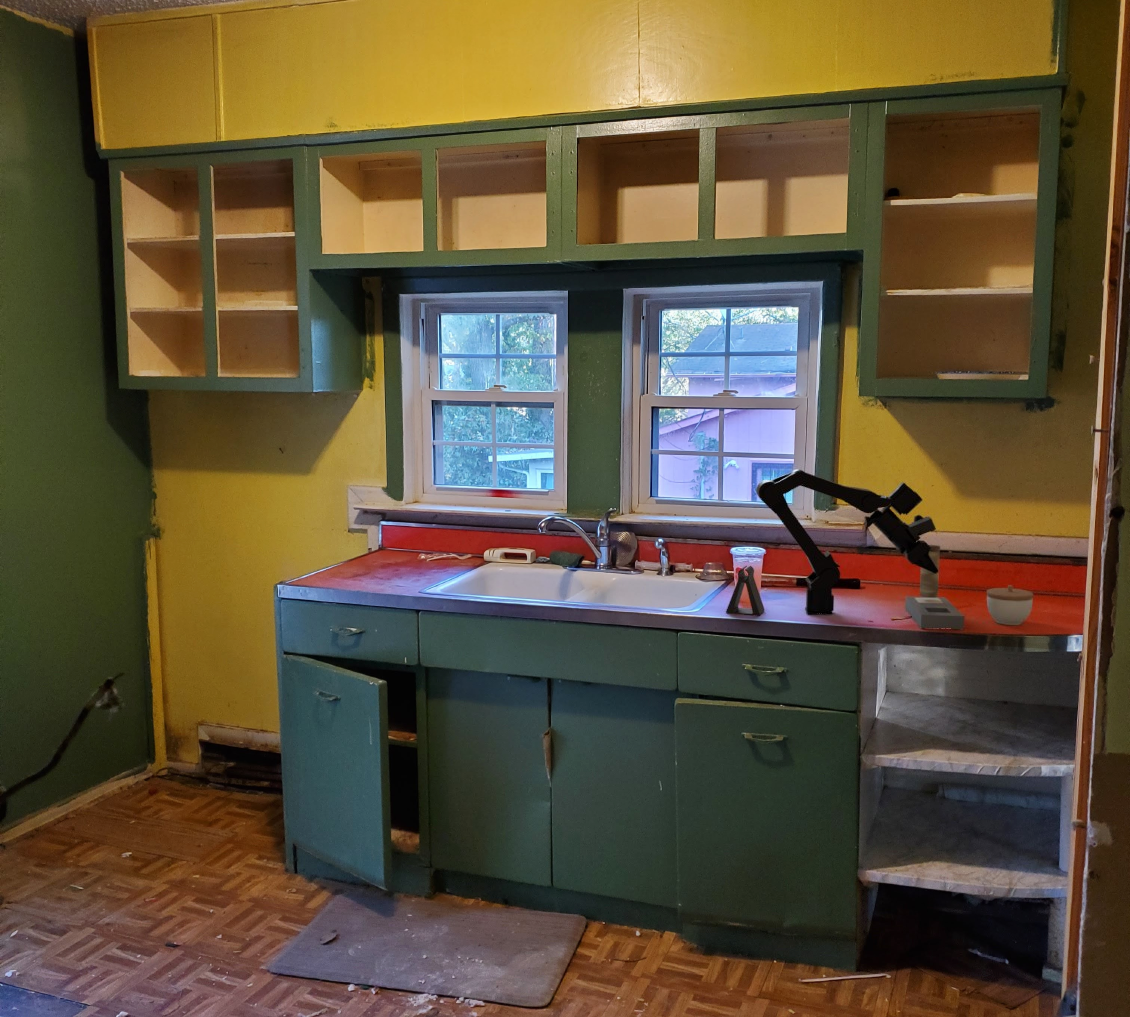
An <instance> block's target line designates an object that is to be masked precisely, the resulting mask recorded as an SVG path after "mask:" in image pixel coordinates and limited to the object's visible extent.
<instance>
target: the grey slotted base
mask: <svg viewBox="0 0 1130 1017" xmlns="http://www.w3.org/2000/svg"><path fill="white" fill-rule="evenodd" d="M904 609H906V610H905V611H906V613H907V612H908V613H909V614H910V615H911V616H912V617H911V616H910V615H909V614H908V613H907V614H908V615H909V616H910V617H911V618H913V619H914V620H915V621H914V620H913V619H912V620H913V621H914V622H915V623H917V624H918V625H919V626H918V625H917V624H916V625H917V626H918V627H919V629H920V628H932V629H931V630H934V629H933V628H939V629H941V628H945V629H946V628H951V629H964V626H965V615H964V614H963V613H961V612H960V611H959V609H958V608H956V607H955V606H954V605H953V604H952V603H951V602H950V601H949V600H948V599H947V598H946V597H943V596H942V597H940V596H939V597H922V596H905V605H904ZM939 629H938V630H939ZM964 630H965V629H964Z"/></svg>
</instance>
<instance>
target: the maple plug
mask: <svg viewBox="0 0 1130 1017" xmlns="http://www.w3.org/2000/svg"><path fill="white" fill-rule="evenodd" d="M928 545H929V546H930V547H931V549H930V550H929V556H930V558H931V560H932V561H933V563H934V564H935V566H936V567H937V569H938V572H937V573H936V574H935V573H933V572H930V571H928V570H926V569H924V568H921V567H920V579H919V580H920V582H919V584H920V585H919V597H938V595H939V575H940V552H941V546H940V545H938V544H937V545H936V544H928Z"/></svg>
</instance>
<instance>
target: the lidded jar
mask: <svg viewBox="0 0 1130 1017" xmlns="http://www.w3.org/2000/svg"><path fill="white" fill-rule="evenodd" d="M1033 599H1034V593H1033V592H1032V591H1030V590H1025V589H1019V588H1014V587H1013V585H1012V584H1010V585H1009V584H1008V585H1007V587H994V588H989V589H987V590H986V603H987V604H986V606H987V610H988V613H989V614H990V616H991V617H992V618H993V620H994V621H995V623H997V624H1000V625H1004V626H1005V625H1006V626H1020V625H1022V623H1023V622H1024V621H1026V620H1027V619H1028V618H1029V616H1030V614H1031V611H1032V607H1033Z"/></svg>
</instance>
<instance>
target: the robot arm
mask: <svg viewBox="0 0 1130 1017" xmlns="http://www.w3.org/2000/svg"><path fill="white" fill-rule="evenodd" d="M798 487H803V488H806V489H810V490H812V491H815V492H818V493H821V494H824V495H827V496H830V497H831V498H832V497H833V498H835V499H837V500H841V501H842V502H845V503H846V504H847V505H850V506H852V507H854V508H856V509H857V510H859V511H860V512H862V513H864V514H870V515H869V516H867V515H865V516H864V517H863V518H864V524H863V525H864V527H866V528H870V527H871V526H872V525H874V526H875V527H876V528H877V529H878V530H879V531H880V532H881V533H882V534H883V535H884V537H886V539H887V540H888V541H890V542H891V544H892V545H894V547H895V549H896V550H897V551H898V553H900V554H901V555H903V557H904V558H905V559H906V560H907V561H909V563H910V564H911V565H915V566H917V567H918V568H919V567H920V569H921V568H924V569H926V570H928V571H930V572H933V573H935V574H936V573H937V572H938V569H937V567H936V566H935V564H934V563H933V561H932V560H931V558H930V556H929V550H930V549H931V547H930V546H929V545H930V544H928V543H927V542H926V541H925V540H924V539H923V540H921V536H922V535H925V534H927V533H929V532H934V531H936V530H937V528H936V526H935V523H934V522H933V521H934V520H933V519H932V517H930V516H922V515H921V514H918V515H915V516H914V517H913V521H912V522H911V523H909V524H908V523H906V522H905V521H903V520H901V518H900V517H899V516H902V515H905V516H908V514H910V513H911V512H912V511H913V510H914V509H915V508H916V507H918V505H919V504H920V503H922V502H923V498H922V497H921V496H920V495H919V494H918V493H917V492H916V491H914V490H913V489H912V488H911V487H910V486H908V485H907V484H906V483H905V482H903V481H902V482H901V483H899V485H898V486H897V487H896V488H895V490H893V491H892V492H891V493H890V494H889V495H888V496H886V495H884V494H882V495H881V494H877V493H876V492H874V491H872V490H870V489H868V488H862V487H855V486H848V485H842V484H840V483H838V482H834V481H833V480H828V479H826V478H823V477H821V476H820V477H819V476H817V475H815V474H814V475H813V474H811V473H809V472H806V471H804V470H802V469H801V468H800V469H798V468H797V469H793V470H792V471H790V472H789V473H785V474H783V475H780V476H777V477H775V478H774V479H763V480H761V481H760V482H759V483H758V484H757V486H756V491H755V492H756V495H757V496H758V498H759V499H760V500H761V501H762V503H764V504H765V505H766V506H767V507H768V508H769V509H770V510H771V512H773V513H774V514H775V515H776V516H777V517H778V518H779V520H780V521H781V523H782V524H783V525H784V527H785V528H786V530H787V531H788V532H789V534H790V536H792V537H793V539H794V541H795V542H796V544H797V545H798V546H799V548H800V549H801V550H802V552H803V553H804V555H805V556H806V558H807V560H808V563H809V565H810V567H811V570H812V572H811V573H810V574H809V575H807V576H806V578H805V582H806V585H807V586H808V587H806V589H805V607H804V611H805V613H806V614H807V615H830V616H831V615H833V612H834V610H835V609H834V607H835V603H834V602H835V596H834V594H833V593H832V592H833V590H832V589H833V587H834V585H836V584H837V583H838V582H839V580H840V577H841V572H840V567H841V566H840V565H839V563H837V561H835V559H834V557H833V555H832V553H831V552H830V551H828V550H826V551H824V553H823V552H822V551H821V550H820V549H819V547H818V546H817V544H816V543H815V542H814V541H813V539H812V538H811V536H810V535H809V533H808V532H807V531H806V530H805V528H804V526H803V525H802V523H801V522H800V521H799V520H798V518H797V517H796V515H795V514H794V513H793V511H792V510H791V509H790V507H789V504H788V502H787V500H786V497H785V495H786V494H788V493H789V492H791V491H793V490H794V489H796V488H798ZM880 508H881V509H880ZM891 508H892V509H891ZM879 509H880V510H879ZM893 510H894V511H895V512H896V513H897V514H898V515H899V516H898V515H897V514H896V513H895V512H894V511H893Z"/></svg>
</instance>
